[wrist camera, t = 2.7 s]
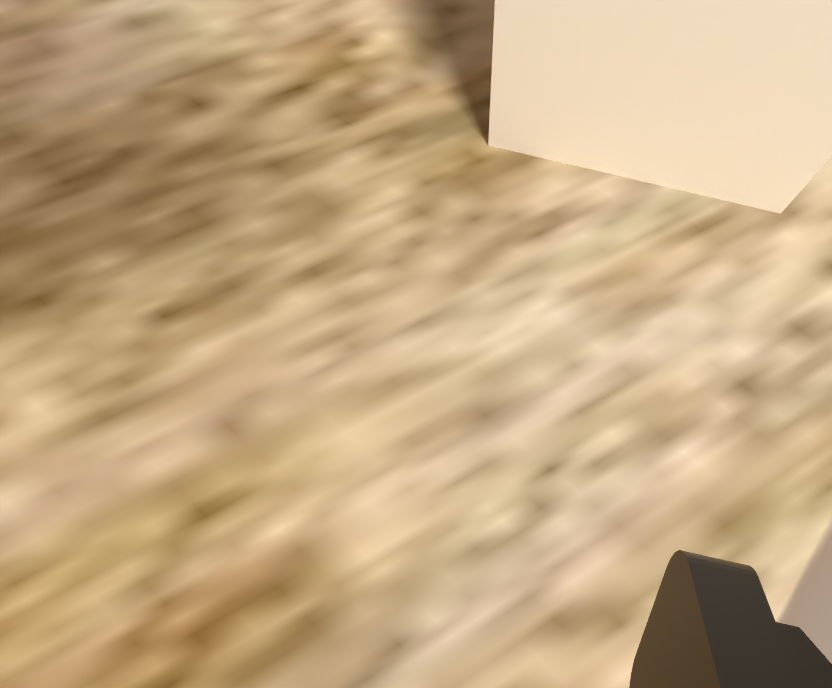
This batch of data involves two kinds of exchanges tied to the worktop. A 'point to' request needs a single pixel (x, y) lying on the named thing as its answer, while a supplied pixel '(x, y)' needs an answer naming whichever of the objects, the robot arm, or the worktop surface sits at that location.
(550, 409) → the worktop surface
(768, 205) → the stand
